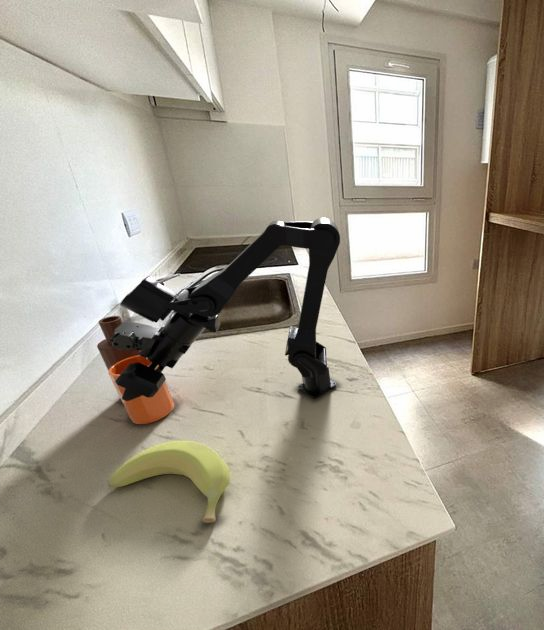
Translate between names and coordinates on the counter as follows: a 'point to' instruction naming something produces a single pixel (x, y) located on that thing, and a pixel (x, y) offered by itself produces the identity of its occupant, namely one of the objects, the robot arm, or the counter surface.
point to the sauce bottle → (105, 346)
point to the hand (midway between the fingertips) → (134, 387)
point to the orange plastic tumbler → (142, 407)
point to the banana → (179, 469)
